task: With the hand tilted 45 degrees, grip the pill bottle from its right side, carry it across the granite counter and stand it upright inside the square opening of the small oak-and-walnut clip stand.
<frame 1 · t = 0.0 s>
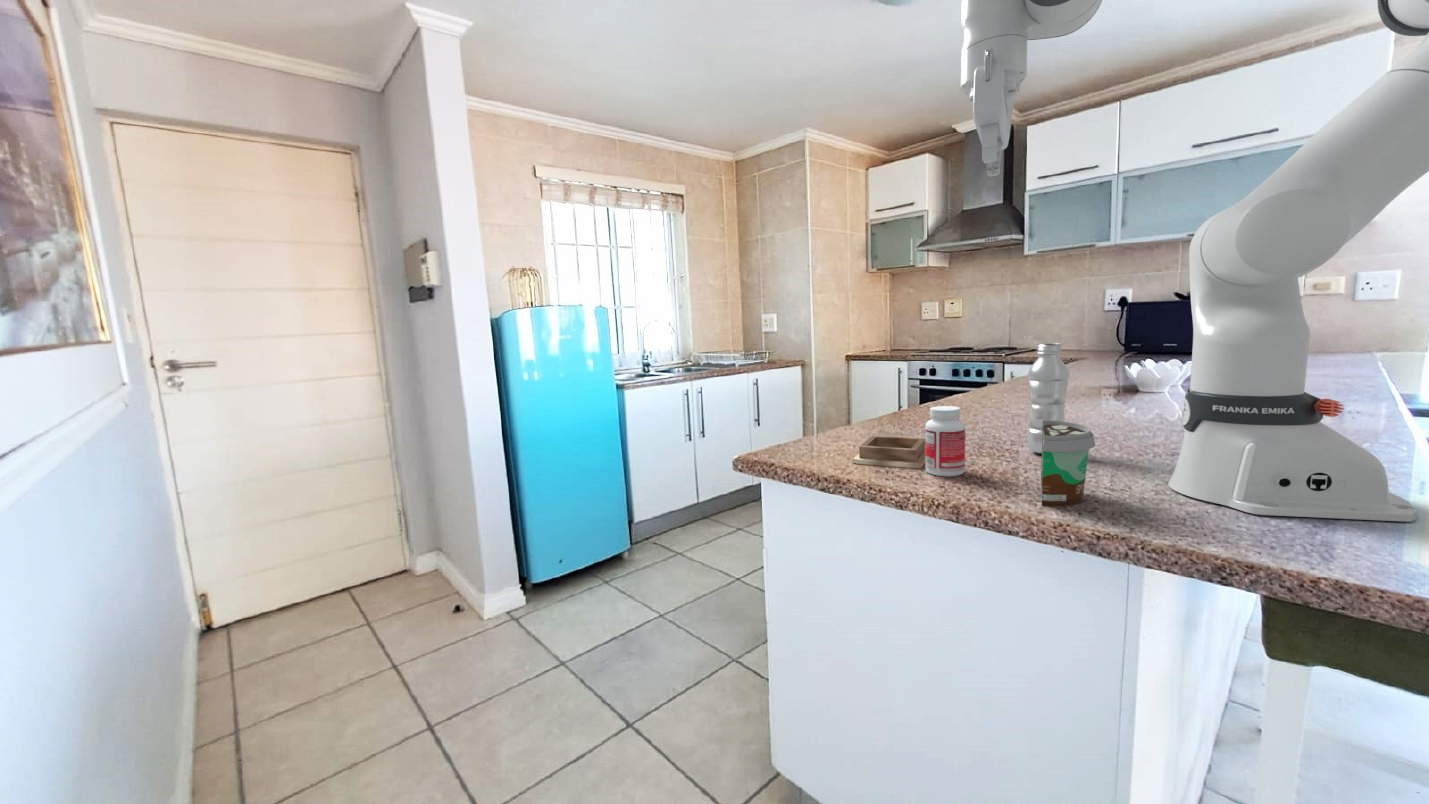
hand: (991, 168, 84), 48 cm above the worktop, tool pointing down, fingers open, 8 cm apart
plastic bottle: (1046, 454, 101), on the worktop
clip stand: (893, 457, 104), on the worktop
food container: (1066, 499, 78), on the worktop
pill bottle: (944, 473, 93), on the worktop
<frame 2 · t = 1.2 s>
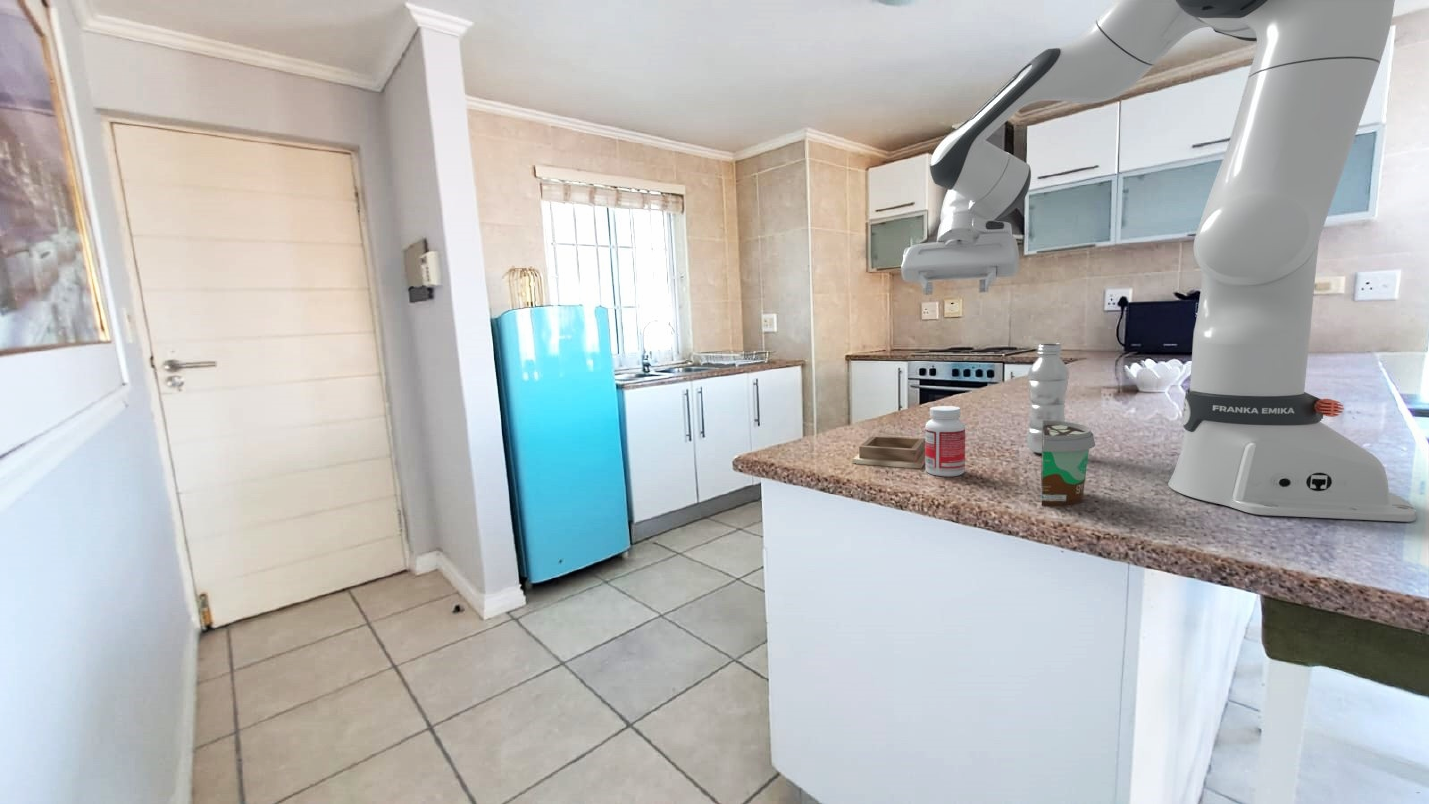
hand: (954, 291, 101), 30 cm above the worktop, tool tilted 45°, fingers open, 8 cm apart
nothing on the worktop moved.
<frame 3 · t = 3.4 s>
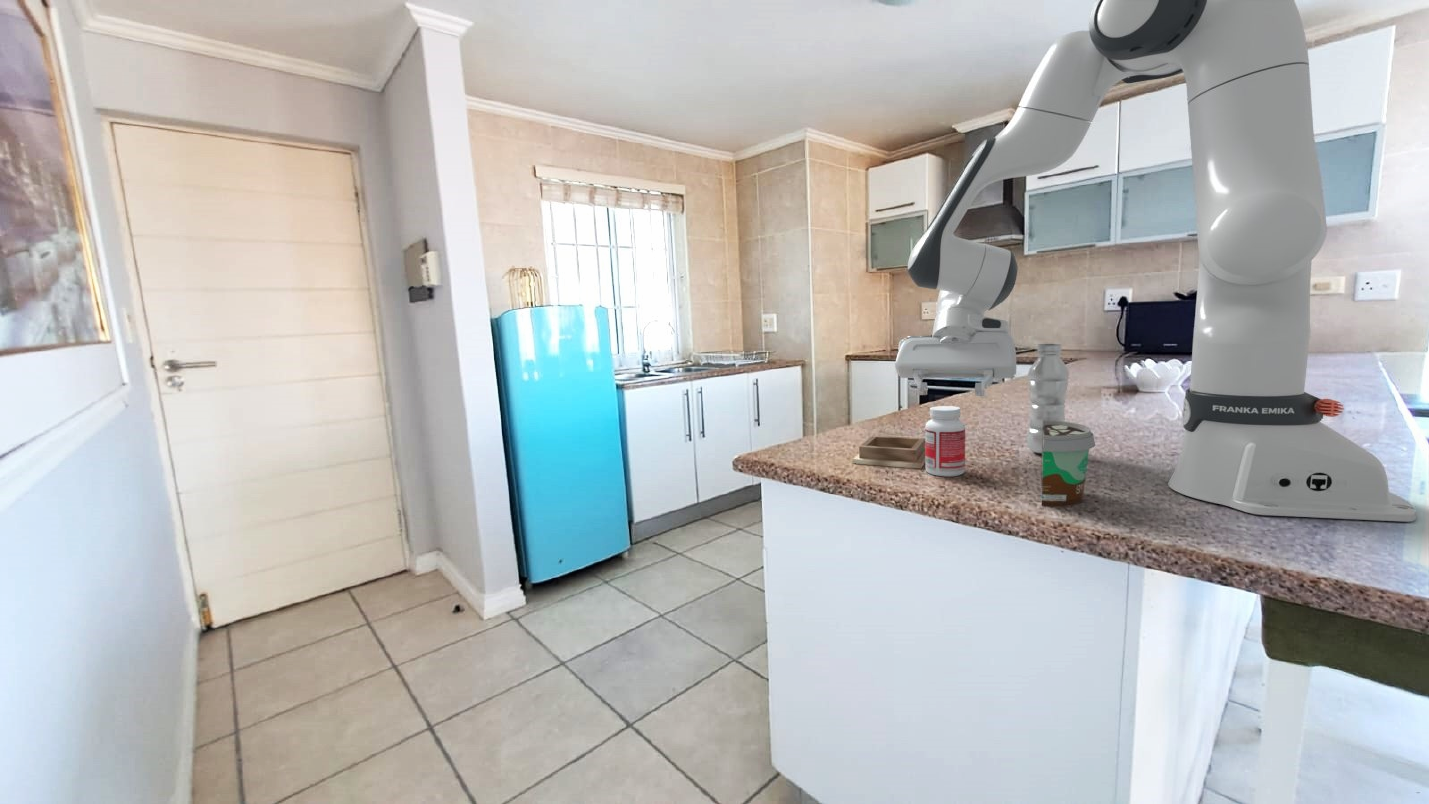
hand: (950, 393, 97), 12 cm above the worktop, tool tilted 45°, fingers open, 8 cm apart
nothing on the worktop moved.
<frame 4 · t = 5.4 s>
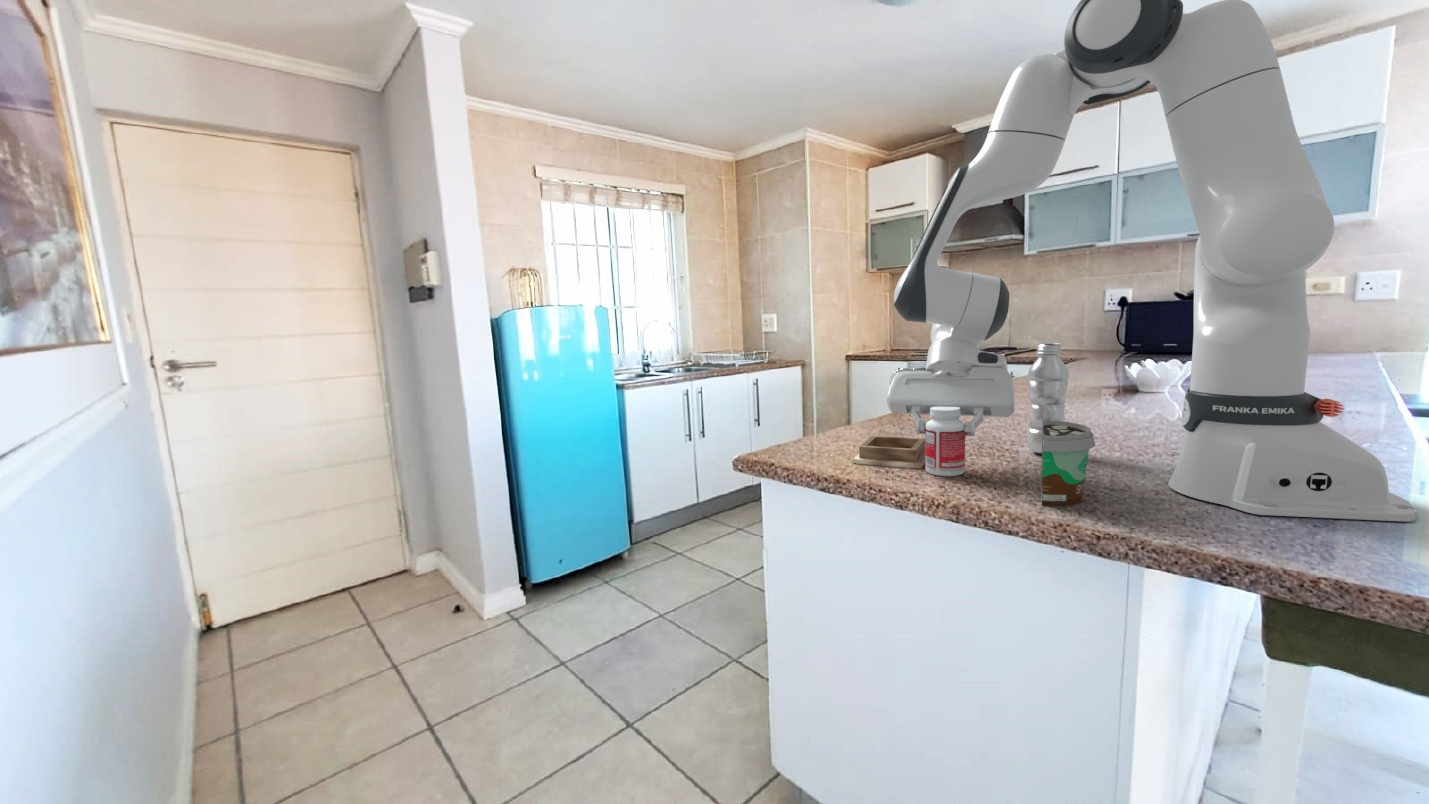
hand: (944, 433, 92), 7 cm above the worktop, tool tilted 45°, fingers closed on pill bottle, 6 cm apart
pill bottle: (944, 473, 93), on the worktop, touching gripper
everything else where it was.
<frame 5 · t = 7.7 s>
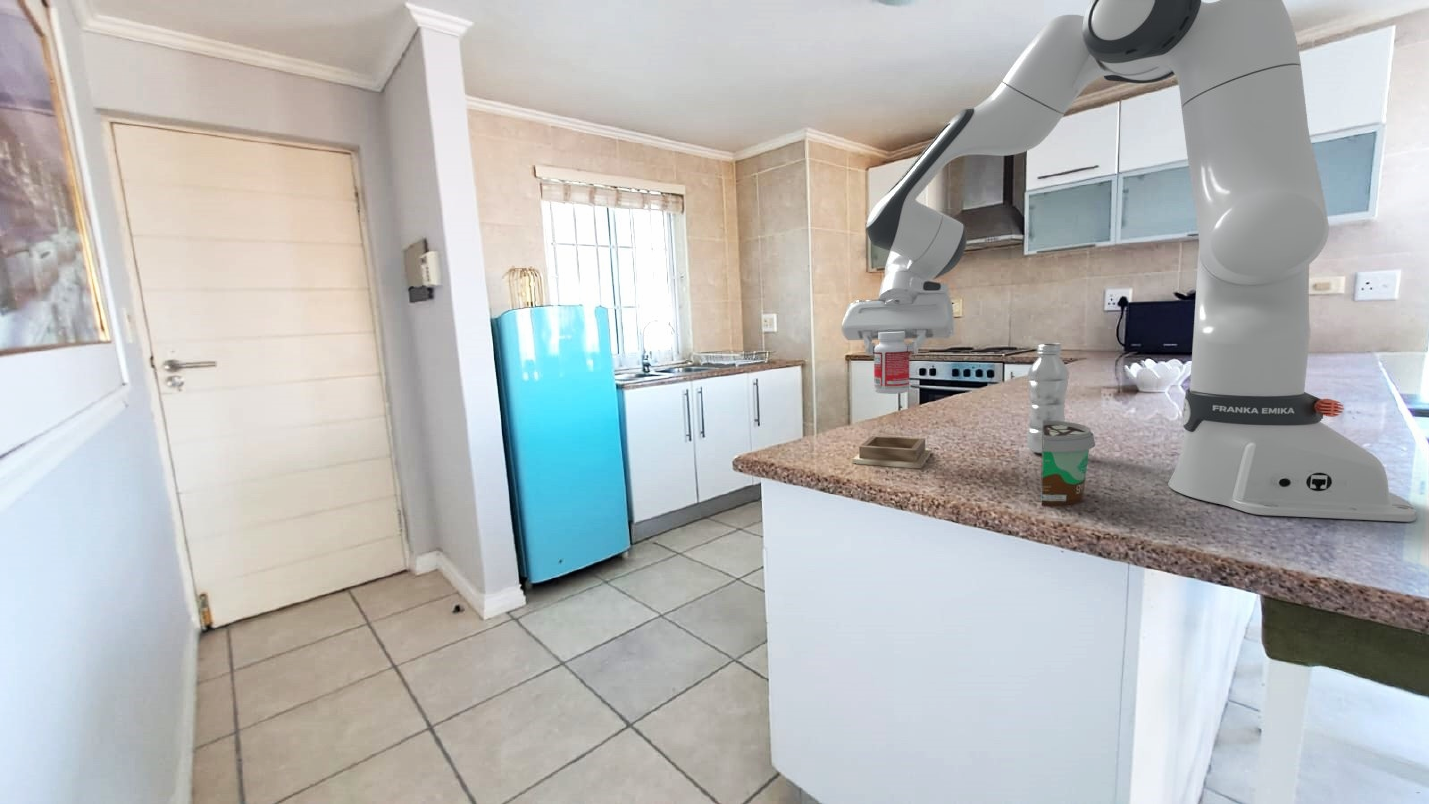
hand: (890, 353, 101), 20 cm above the worktop, tool tilted 45°, fingers closed on pill bottle, 6 cm apart
pill bottle: (891, 393, 102), point 12 cm above the worktop, touching gripper
everything else where it was.
when the fingers open (9 cm above the worktop, at t = 10.3 s): pill bottle stays where it is, resting on clip stand.
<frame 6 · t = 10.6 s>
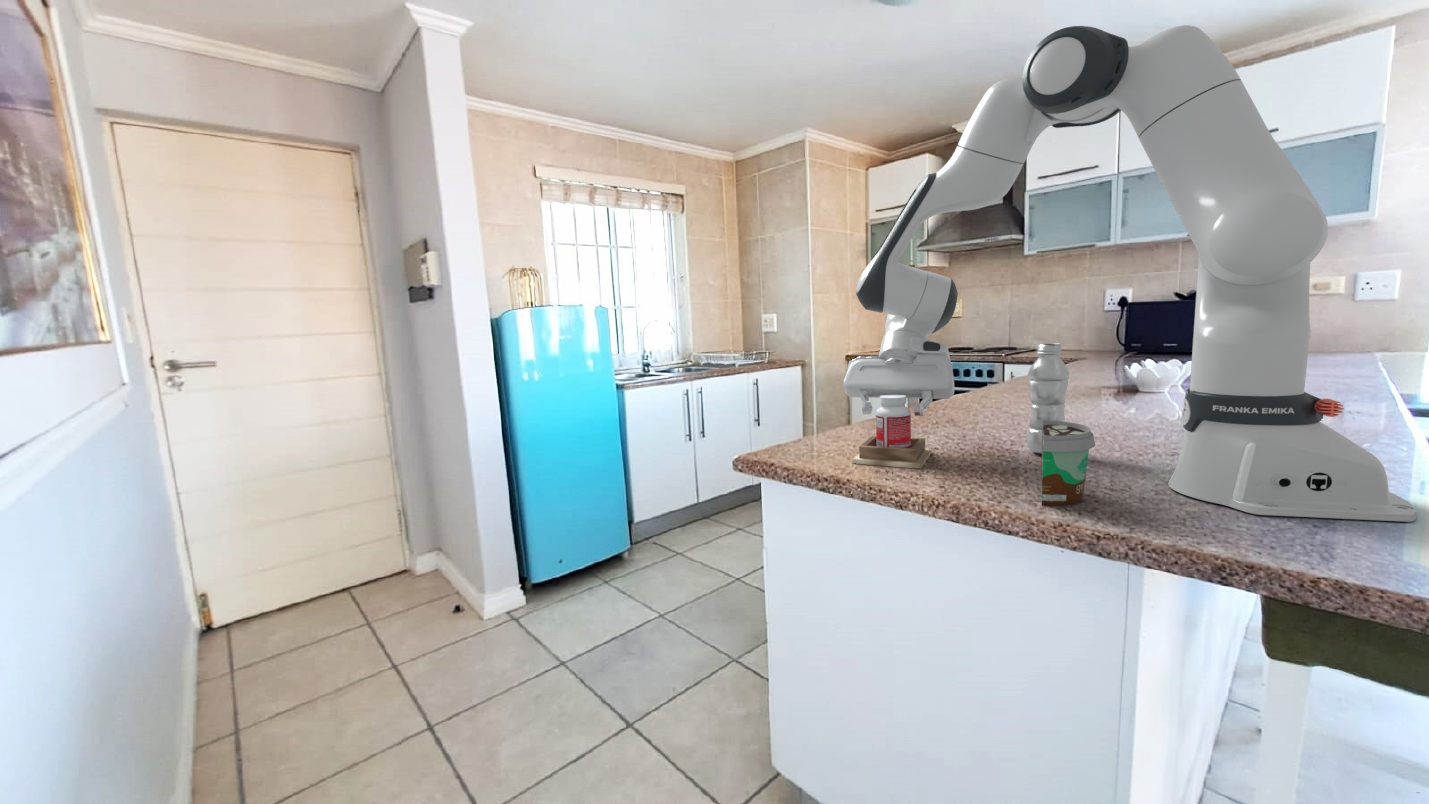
hand: (891, 413, 102), 9 cm above the worktop, tool tilted 45°, fingers open, 8 cm apart
pill bottle: (893, 454, 104), point 1 cm above the worktop, touching clip stand
everything else where it was.
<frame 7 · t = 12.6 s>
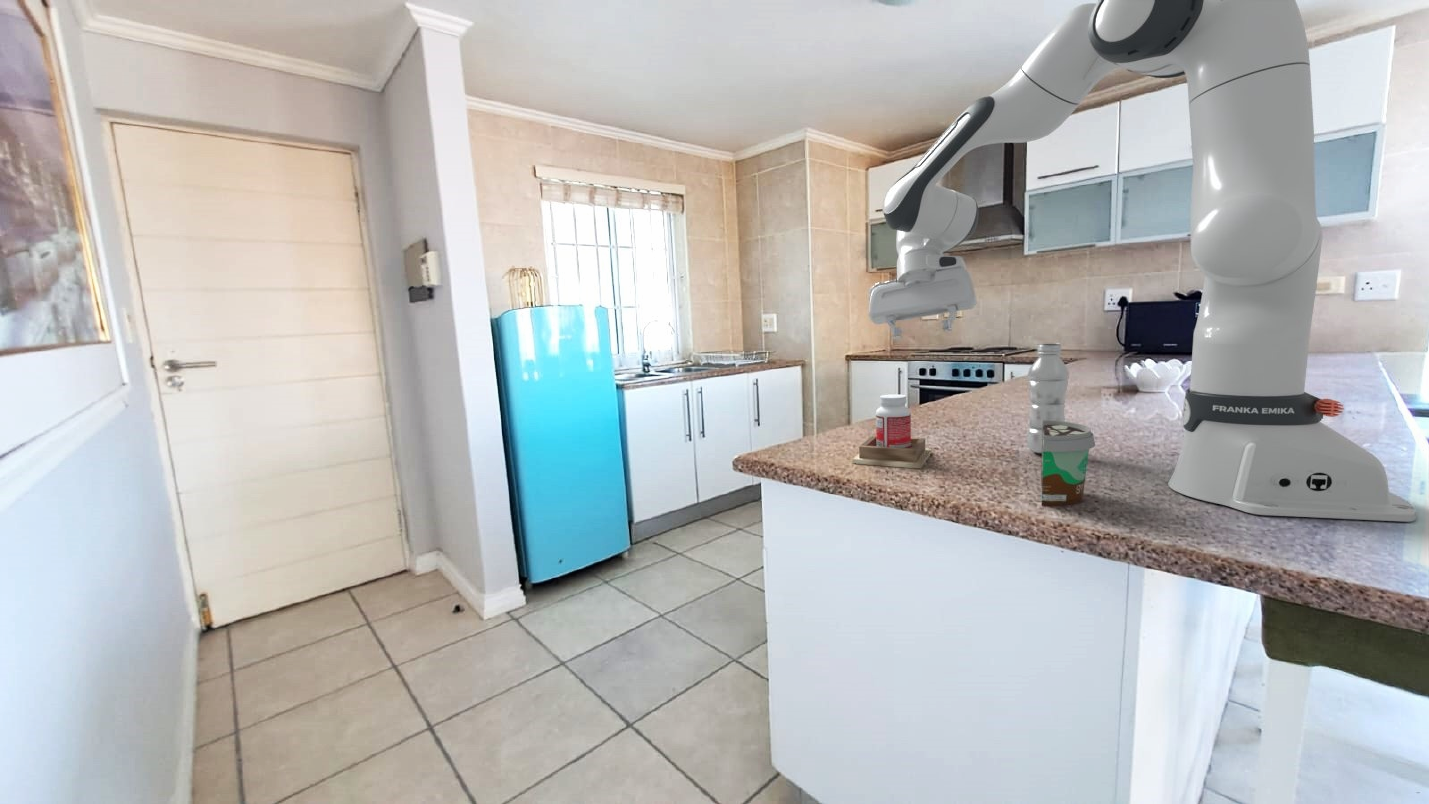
hand: (921, 333, 108), 23 cm above the worktop, tool tilted 30°, fingers open, 8 cm apart
nothing on the worktop moved.
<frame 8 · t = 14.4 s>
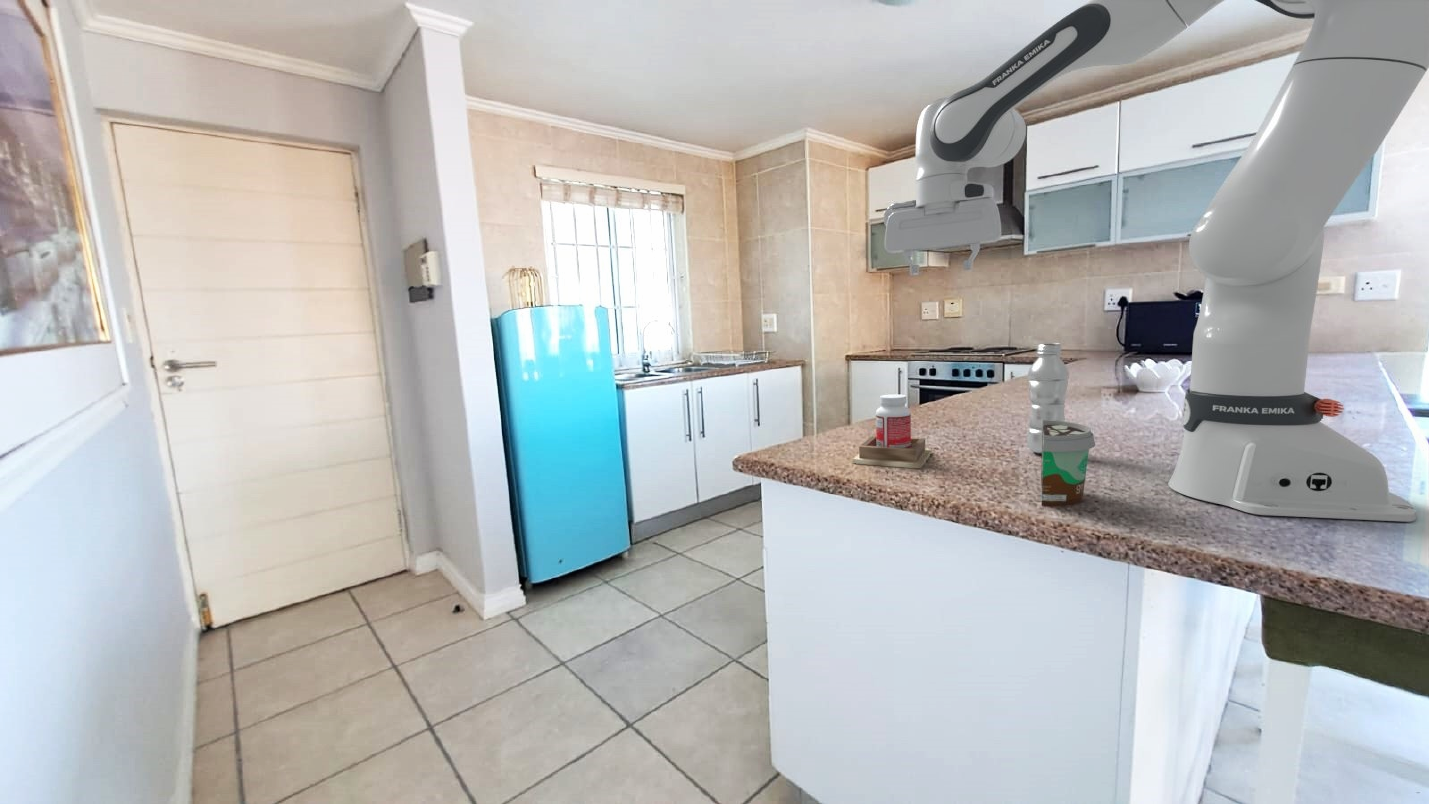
hand: (940, 272, 104), 34 cm above the worktop, tool pointing down, fingers open, 8 cm apart
nothing on the worktop moved.
at the end: pill bottle 0.1 cm off-centre on the clip stand, point 0.6 cm above the clip stand's base; pill bottle tilted 0°; the gripper is holding nothing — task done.
